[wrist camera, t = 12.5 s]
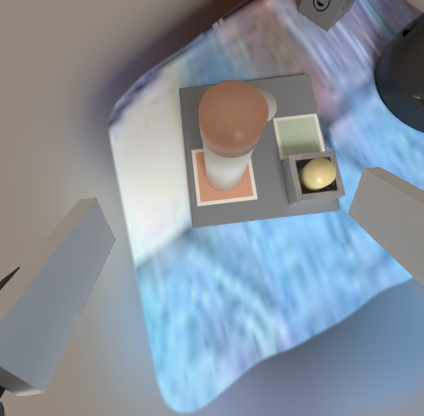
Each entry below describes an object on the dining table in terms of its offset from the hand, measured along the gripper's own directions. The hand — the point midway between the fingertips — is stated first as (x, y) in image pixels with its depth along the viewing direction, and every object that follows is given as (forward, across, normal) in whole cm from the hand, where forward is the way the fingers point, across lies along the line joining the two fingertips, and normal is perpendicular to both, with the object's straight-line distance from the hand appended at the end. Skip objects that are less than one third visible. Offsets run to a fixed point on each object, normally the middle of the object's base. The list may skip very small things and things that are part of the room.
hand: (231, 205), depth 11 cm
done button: (+10, +10, -4) cm, 14 cm away
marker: (+12, +1, -4) cm, 13 cm away
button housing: (+11, +10, -5) cm, 16 cm away
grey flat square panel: (+15, +5, -2) cm, 16 cm away
